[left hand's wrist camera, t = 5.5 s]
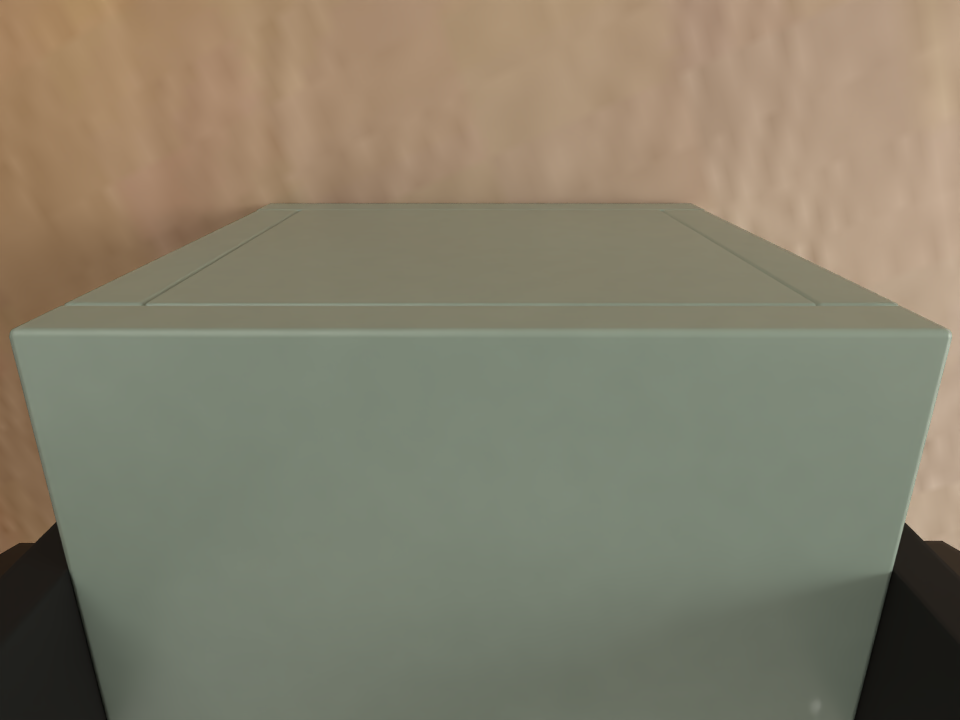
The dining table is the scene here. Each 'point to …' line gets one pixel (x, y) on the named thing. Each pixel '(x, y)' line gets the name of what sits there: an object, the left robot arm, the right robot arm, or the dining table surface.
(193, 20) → the dining table surface
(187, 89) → the dining table surface
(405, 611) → the cabinet
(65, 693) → the left robot arm
